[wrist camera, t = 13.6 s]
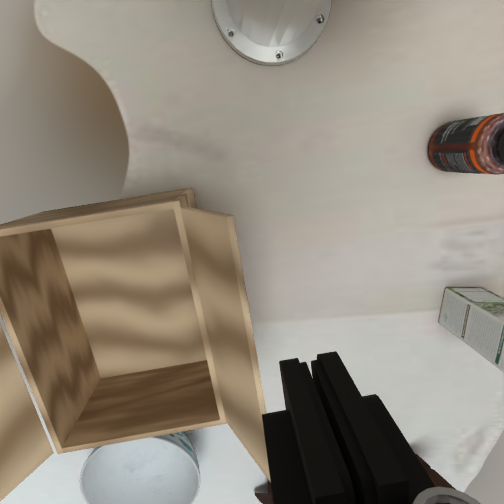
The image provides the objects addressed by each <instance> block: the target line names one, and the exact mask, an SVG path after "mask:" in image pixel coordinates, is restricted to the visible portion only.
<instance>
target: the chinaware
mask: <svg viewBox="0 0 504 504" xmlns="http://www.w3.org/2000/svg"><path fill="white" fill-rule="evenodd" d="M199 488H200V471H199V465H198V461H197V457H196V454H195V451H194V449H193V447H192V445H191V443H190V441H189V440H188V438H187V437H186V436H185V435H184V434H183V433H182V432H177V433H171V434H166V435H160V436H155V437H149V438H143V439H138V440H132V441H127V442H121V443H116V444H110V445H105V446H99V447H96V448H95V449H94V450H93V452H92V453H91V454H90V456H89V457H88V459H87V460H86V462H85V464H84V466H83V468H82V471H81V474H80V489H81V493H82V495H83V498H84V499H85V501H86V503H87V504H193V502H194V501H195V499H196V497H197V495H198V492H199Z"/></svg>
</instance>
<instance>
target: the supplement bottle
mask: <svg viewBox="0 0 504 504" xmlns="http://www.w3.org/2000/svg"><path fill="white" fill-rule="evenodd" d="M429 157H430V160H431V162H432V163H433V165H434V166H435V167H436V168H438V169H440V170H442V171H446V172H459V173H477V174H504V113H501V114H494V115H488V116H482V117H476V118H470V119H464V120H458V121H453V122H449V123H447V124H445V125H443V126H441V127H440V128H439V129H438V130H437V131H436V132H435V133H434V135H433V136H432V138H431V141H430V144H429Z"/></svg>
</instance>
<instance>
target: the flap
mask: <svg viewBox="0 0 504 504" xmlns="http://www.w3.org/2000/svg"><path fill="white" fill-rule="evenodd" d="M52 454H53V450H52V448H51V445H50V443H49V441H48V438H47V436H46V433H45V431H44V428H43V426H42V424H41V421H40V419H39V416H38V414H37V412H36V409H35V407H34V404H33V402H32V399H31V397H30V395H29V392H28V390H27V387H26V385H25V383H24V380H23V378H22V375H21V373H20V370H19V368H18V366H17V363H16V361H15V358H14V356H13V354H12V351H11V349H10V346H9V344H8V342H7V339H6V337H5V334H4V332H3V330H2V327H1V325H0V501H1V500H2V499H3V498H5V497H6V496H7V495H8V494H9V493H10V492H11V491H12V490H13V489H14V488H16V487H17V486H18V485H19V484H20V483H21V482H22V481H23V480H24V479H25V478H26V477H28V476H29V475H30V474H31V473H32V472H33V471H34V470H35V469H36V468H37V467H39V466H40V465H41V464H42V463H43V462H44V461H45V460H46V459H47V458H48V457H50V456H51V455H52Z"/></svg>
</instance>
